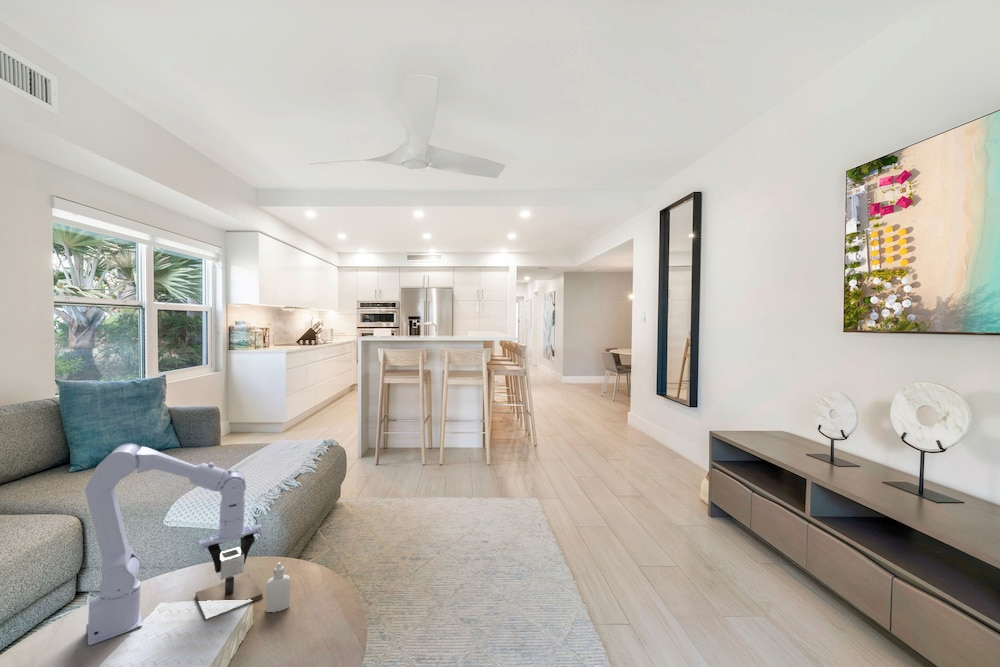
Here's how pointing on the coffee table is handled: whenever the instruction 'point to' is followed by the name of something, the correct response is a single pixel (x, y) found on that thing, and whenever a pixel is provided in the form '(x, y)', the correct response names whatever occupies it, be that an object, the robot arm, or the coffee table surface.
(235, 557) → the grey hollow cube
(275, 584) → the eye dropper bottle
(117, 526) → the robot arm
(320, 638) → the coffee table surface
